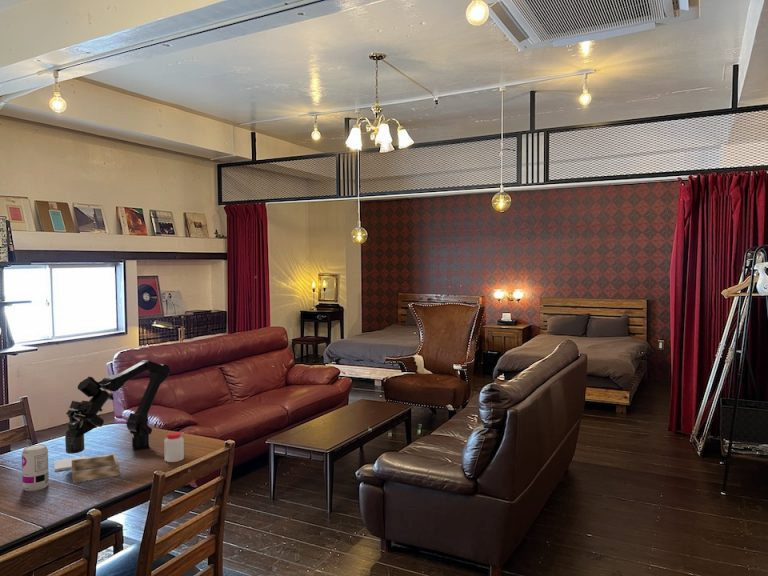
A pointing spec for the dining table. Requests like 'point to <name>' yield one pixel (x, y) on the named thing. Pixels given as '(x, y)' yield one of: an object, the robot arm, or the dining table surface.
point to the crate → (95, 472)
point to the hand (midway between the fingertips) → (71, 436)
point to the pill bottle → (174, 447)
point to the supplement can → (35, 467)
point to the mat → (66, 463)
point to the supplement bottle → (73, 438)
